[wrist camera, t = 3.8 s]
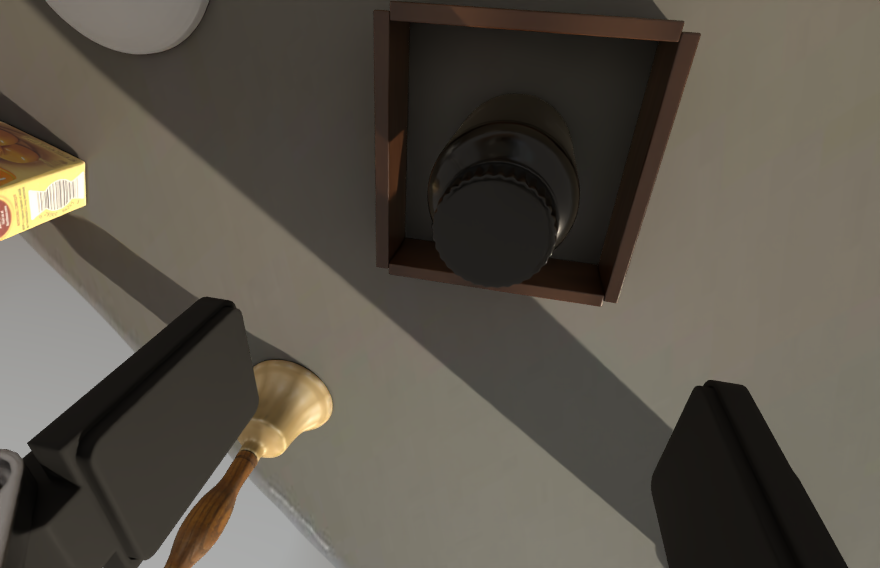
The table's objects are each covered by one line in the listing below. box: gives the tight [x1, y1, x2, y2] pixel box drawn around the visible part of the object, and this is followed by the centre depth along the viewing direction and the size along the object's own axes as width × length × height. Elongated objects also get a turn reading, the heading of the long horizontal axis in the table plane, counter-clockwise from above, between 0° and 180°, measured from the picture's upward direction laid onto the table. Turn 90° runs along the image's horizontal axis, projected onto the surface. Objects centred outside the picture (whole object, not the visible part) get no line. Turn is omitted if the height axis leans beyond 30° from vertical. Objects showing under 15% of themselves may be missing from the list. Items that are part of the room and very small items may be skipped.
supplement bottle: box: [428, 93, 580, 288], centre depth 22 cm, size 7×7×12 cm
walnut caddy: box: [373, 1, 701, 307], centre depth 26 cm, size 15×15×4 cm
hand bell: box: [164, 360, 333, 568], centre depth 35 cm, size 8×8×16 cm
